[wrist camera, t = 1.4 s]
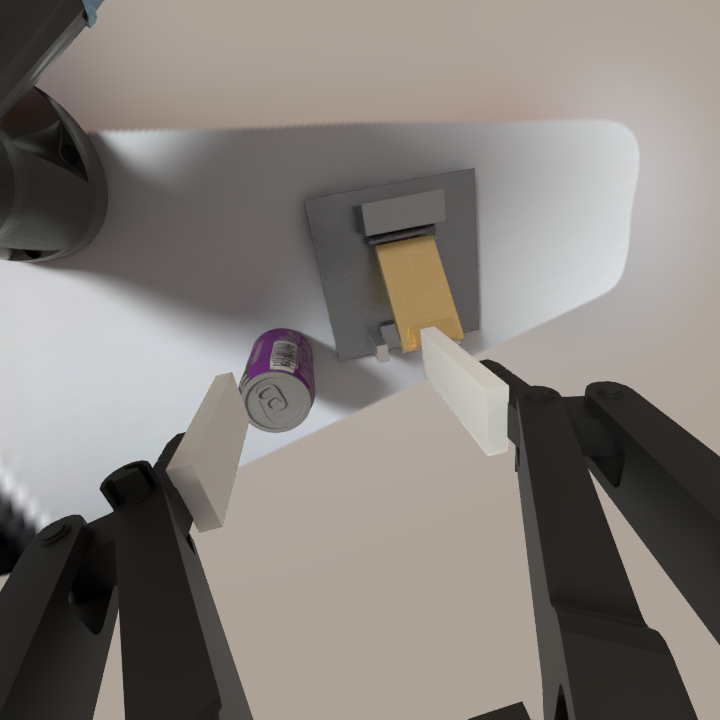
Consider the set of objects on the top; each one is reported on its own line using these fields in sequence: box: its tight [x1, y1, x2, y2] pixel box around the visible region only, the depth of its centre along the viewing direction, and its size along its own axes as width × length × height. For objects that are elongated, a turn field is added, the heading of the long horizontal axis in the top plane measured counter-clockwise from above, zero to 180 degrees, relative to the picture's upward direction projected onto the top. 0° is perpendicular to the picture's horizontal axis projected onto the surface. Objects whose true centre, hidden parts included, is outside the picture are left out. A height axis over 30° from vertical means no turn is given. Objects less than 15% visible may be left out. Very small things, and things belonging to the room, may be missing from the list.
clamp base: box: [304, 168, 479, 363], centre depth 36 cm, size 18×18×6 cm
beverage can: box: [239, 329, 315, 433], centre depth 35 cm, size 7×7×12 cm
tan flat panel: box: [367, 223, 465, 354], centre depth 33 cm, size 7×13×2 cm
